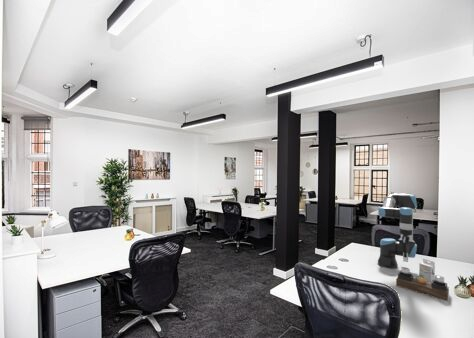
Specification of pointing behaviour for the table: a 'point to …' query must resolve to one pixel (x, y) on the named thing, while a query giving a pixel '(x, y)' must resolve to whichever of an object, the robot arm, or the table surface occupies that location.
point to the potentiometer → (421, 280)
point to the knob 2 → (439, 279)
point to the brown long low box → (423, 286)
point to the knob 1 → (405, 271)
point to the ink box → (427, 270)
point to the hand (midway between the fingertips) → (405, 261)
